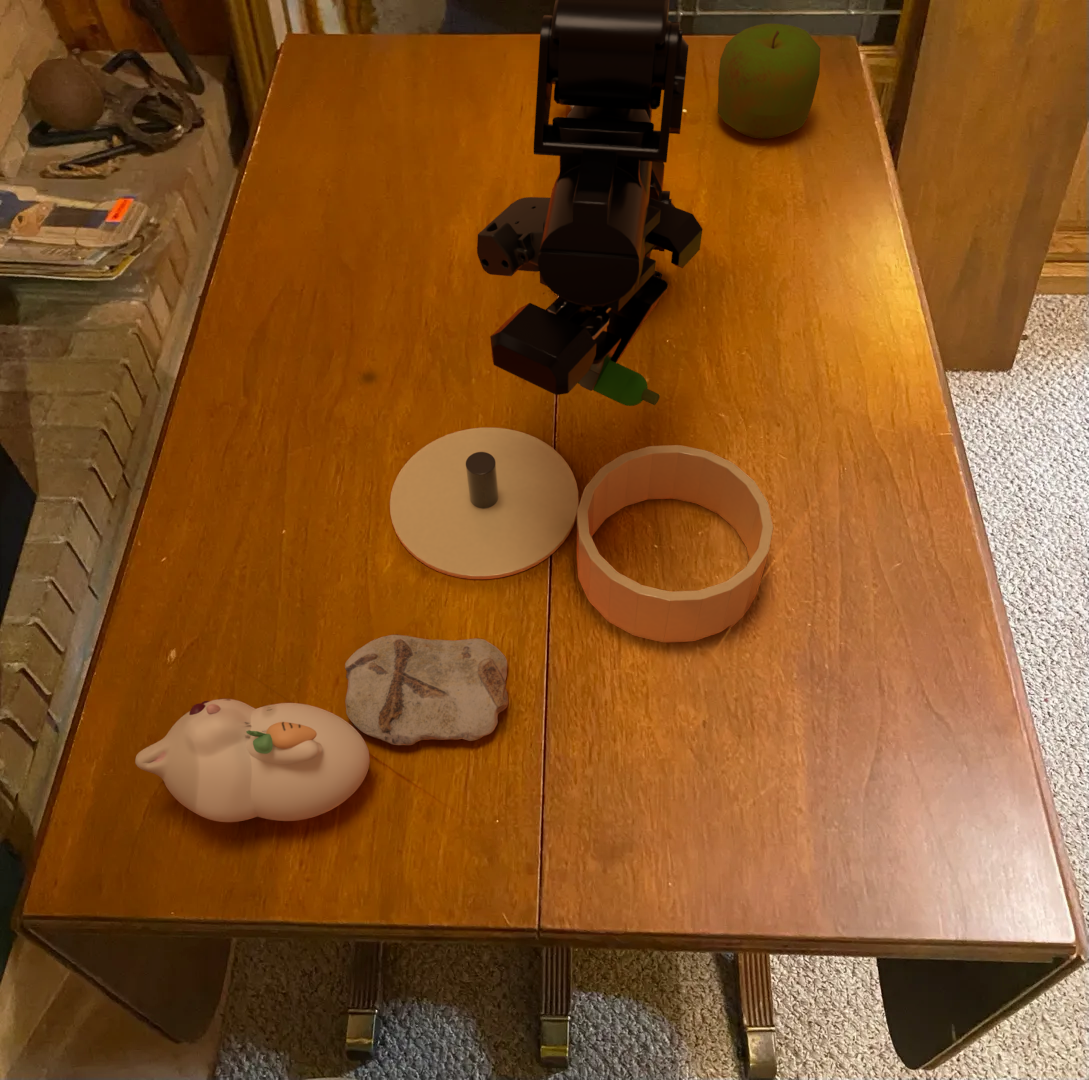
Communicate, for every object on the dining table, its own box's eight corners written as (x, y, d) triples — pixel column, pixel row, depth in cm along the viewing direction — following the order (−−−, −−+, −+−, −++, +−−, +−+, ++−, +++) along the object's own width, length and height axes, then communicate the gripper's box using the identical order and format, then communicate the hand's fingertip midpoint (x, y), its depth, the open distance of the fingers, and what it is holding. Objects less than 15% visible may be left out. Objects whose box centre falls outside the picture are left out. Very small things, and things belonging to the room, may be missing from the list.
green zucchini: (540, 373, 80) (540, 348, 77) (559, 353, 81) (559, 328, 79) (646, 423, 76) (649, 399, 74) (664, 402, 77) (667, 378, 75)
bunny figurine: (366, 707, 65) (122, 704, 63) (361, 836, 64) (115, 836, 63) (375, 696, 74) (163, 693, 73) (371, 808, 74) (157, 807, 72)
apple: (786, 89, 122) (803, -3, 113) (824, 140, 116) (845, 46, 107) (698, 105, 121) (709, 13, 112) (732, 157, 114) (746, 64, 106)
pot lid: (465, 410, 93) (460, 365, 88) (613, 484, 87) (616, 440, 83) (352, 527, 85) (340, 485, 81) (507, 616, 80) (504, 576, 75)
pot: (636, 470, 88) (640, 418, 83) (790, 545, 83) (805, 495, 78) (542, 588, 81) (540, 541, 76) (703, 678, 76) (714, 634, 71)
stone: (343, 758, 73) (335, 739, 70) (351, 646, 78) (344, 624, 76) (510, 750, 73) (508, 730, 71) (507, 639, 78) (505, 617, 76)
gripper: (578, 95, 72) (576, 271, 85) (414, 234, 64) (439, 408, 76) (717, 144, 69) (693, 321, 81) (563, 299, 60) (563, 471, 72)
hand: (597, 376), depth 78 cm, fingers closed on green zucchini, 2 cm apart
